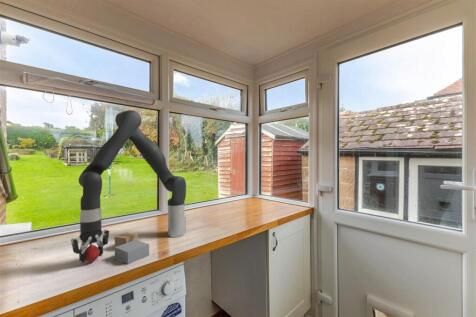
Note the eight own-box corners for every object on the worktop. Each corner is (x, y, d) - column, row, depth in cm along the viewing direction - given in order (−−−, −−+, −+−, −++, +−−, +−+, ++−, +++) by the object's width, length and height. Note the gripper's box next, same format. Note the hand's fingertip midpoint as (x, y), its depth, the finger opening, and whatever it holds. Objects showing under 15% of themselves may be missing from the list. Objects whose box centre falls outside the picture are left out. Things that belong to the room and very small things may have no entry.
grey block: (135, 250, 106) (135, 239, 106) (149, 255, 100) (149, 244, 100) (114, 258, 97) (114, 247, 97) (128, 264, 92) (127, 252, 92)
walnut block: (126, 243, 114) (126, 232, 114) (137, 245, 112) (137, 233, 112) (114, 249, 108) (114, 236, 108) (126, 250, 106) (126, 238, 106)
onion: (102, 259, 97) (102, 240, 97) (94, 265, 91) (94, 246, 91) (89, 259, 97) (88, 241, 97) (80, 265, 91) (79, 246, 91)
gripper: (104, 214, 102) (104, 250, 102) (66, 222, 90) (67, 263, 90) (113, 216, 98) (113, 254, 98) (75, 225, 86) (75, 268, 86)
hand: (91, 258), depth 94 cm, fingers closed on onion, 6 cm apart
